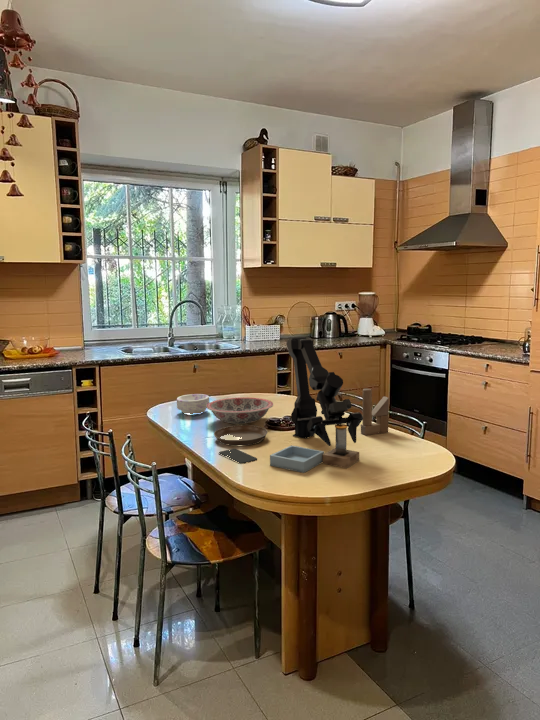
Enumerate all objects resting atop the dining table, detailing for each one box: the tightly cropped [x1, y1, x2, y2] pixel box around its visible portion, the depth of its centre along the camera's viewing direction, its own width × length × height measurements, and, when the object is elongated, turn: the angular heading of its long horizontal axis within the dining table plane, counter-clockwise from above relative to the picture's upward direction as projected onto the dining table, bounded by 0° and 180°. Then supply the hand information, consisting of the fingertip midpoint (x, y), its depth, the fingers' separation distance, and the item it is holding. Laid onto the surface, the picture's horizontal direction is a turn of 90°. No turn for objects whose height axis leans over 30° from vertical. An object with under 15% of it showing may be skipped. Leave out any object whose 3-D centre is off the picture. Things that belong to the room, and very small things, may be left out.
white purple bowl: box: [176, 393, 210, 414], centre depth 249 cm, size 15×15×8 cm
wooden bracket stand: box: [360, 388, 390, 436], centre depth 210 cm, size 4×11×18 cm, turn 111°
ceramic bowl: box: [206, 396, 274, 425], centre depth 232 cm, size 29×29×8 cm
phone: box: [218, 448, 258, 464], centre depth 185 cm, size 7×1×15 cm
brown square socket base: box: [322, 447, 360, 469], centre depth 177 cm, size 9×9×3 cm
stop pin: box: [334, 423, 348, 456], centre depth 176 cm, size 4×4×12 cm
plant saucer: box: [213, 424, 268, 446], centre depth 205 cm, size 21×21×3 cm
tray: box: [269, 445, 325, 474], centre depth 176 cm, size 13×13×4 cm
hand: (342, 444), depth 175 cm, fingers open, 9 cm apart
